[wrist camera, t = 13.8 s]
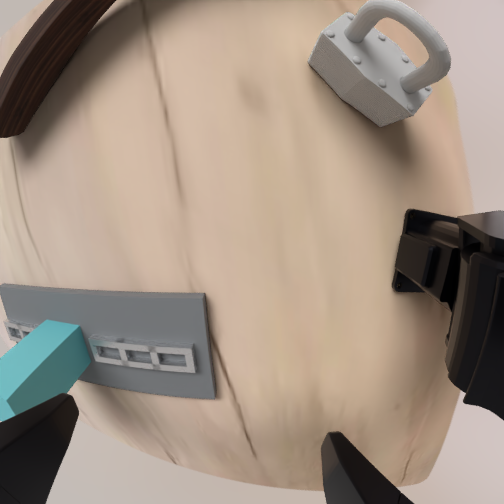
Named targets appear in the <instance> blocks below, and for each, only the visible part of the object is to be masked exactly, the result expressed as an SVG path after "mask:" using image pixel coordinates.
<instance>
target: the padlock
mask: <svg viewBox="0 0 504 504" xmlns="http://www.w3.org/2000/svg"><path fill="white" fill-rule="evenodd" d="M386 17H388V18H392V19H394V20H396V21H398V22H400V23H401V24H403V25H404V26H406V27H407V28H408V29H409V30H410V31H412V32H413V33H414V34H415V35H416V36H417V37H418V38H419V40H420V41H421V42H422V43H423V45H424V46H425V47H426V49H427V51H428V53H429V59H428V61H427V62H426V63H425V64H423V65H422V66H420V67H418V68H416V66H415V65H414V64H413V62H412V61H411V60H410V59H409V58H408V56H407V55H406V54H405V53H404V52H403V50H402V49H401V48H400V47H399V46H398V45H397V44H396V43H395V42H393V41H392V40H391V39H389V38H388V37H387V36H385V35H384V34H382V33H381V32H380V31H378V30H377V29H375V28H374V26H375V25H376V23H377V22H378V21H379V20H381V19H383V18H386ZM308 63H309V64H310V65H311V66H312V67H313V68H314V70H315V71H316V72H317V73H318V74H319V75H320V76H321V77H322V78H323V79H324V80H325V81H326V82H327V83H328V84H329V86H330V87H331V88H332V89H333V90H334V91H335V92H336V93H337V95H338V96H339V97H340V98H341V99H343V100H344V101H345V102H347V103H348V104H350V105H351V106H353V107H354V108H355V109H357V110H358V111H359V112H361V113H362V114H364V115H365V116H366V117H368V118H369V119H370V120H371V121H373V122H374V123H375V124H377V125H378V126H379V127H383V126H386V125H389V124H391V123H394V122H397V121H400V120H402V119H405V118H408V117H411V116H413V115H414V114H415V113H416V112H417V110H418V109H419V108H420V107H421V105H422V104H423V103H424V101H425V100H426V99H427V98H428V96H429V95H430V94H431V92H432V88H431V86H430V85H431V84H433V83H435V82H438V81H439V80H440V79H442V78H443V77H444V76H446V75H447V73H448V71H449V69H450V65H451V57H450V54H449V51H448V48H447V45H446V43H445V42H444V40H443V39H442V37H441V36H440V35H439V33H438V32H437V30H436V29H435V28H434V27H433V26H432V25H431V24H430V23H429V22H428V21H427V20H426V19H425V18H424V17H423V16H421V15H420V14H419V13H418V12H417V11H415V10H414V9H412V8H410V7H409V6H407V5H406V4H404V3H402V2H400V1H397V0H369V1H367V2H366V3H365V4H364V5H363V6H362V7H361V8H360V9H359V11H358V12H357V14H356V15H353V14H352V13H350V12H346V13H344V14H343V15H342V16H340V17H339V18H338V19H336V20H335V21H334V22H333V23H331V24H330V25H329V26H328V27H326V28H325V29H324V30H323V31H321V33H320V35H319V38H318V40H317V42H316V44H315V46H314V48H313V51H312V53H311V55H310V57H309V59H308Z"/></svg>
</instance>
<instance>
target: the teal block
mask: <svg viewBox="0 0 504 504" xmlns="http://www.w3.org/2000/svg"><path fill="white" fill-rule="evenodd" d="M90 363H91V359H90V356H89V354H88V351H87V347H86V344H85V341H84V338H83V335H82V331H81V328H80V325H74V324H69V323H63V322H57V321H52V320H45V321H44V322H43V323H42V324H40V325H39V326H38V327H37V328H35V329H34V330H33V331H32V332H30V333H29V334H28V335H27V336H26V337H24V338H23V339H22V340H21V341H20V342H18V343H17V344H16V345H15V346H14V347H13V348H11V349H10V350H9V351H8V352H7V353H6V354H5V355H3V356H2V357H1V358H0V421H5V420H7V419H9V418H11V417H13V416H15V415H17V414H20V413H22V412H24V411H26V410H28V409H30V408H32V407H34V406H36V405H38V404H40V403H42V402H44V401H46V400H48V399H50V398H52V397H54V396H56V395H58V394H60V393H67V392H68V391H69V390H70V388H71V387H72V386H73V384H74V383H75V382H76V381H77V379H78V378H79V377H80V375H81V374H82V373H83V372H84V370H85V369H86V368H87V367H88V365H89V364H90Z"/></svg>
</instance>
